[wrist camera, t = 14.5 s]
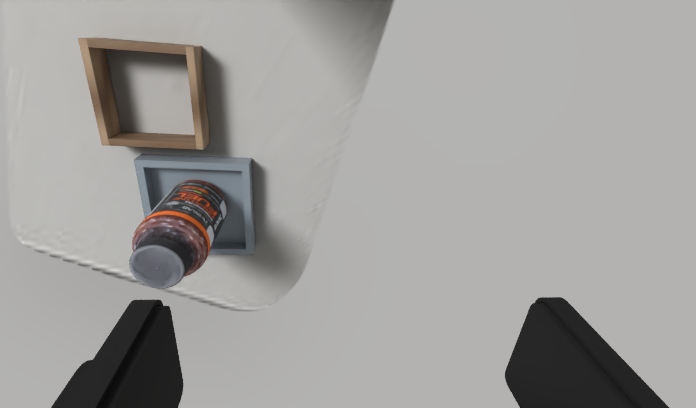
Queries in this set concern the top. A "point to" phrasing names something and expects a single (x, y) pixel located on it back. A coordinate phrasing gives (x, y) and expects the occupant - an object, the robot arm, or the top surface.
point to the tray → (222, 172)
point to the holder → (106, 102)
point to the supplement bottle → (177, 234)
